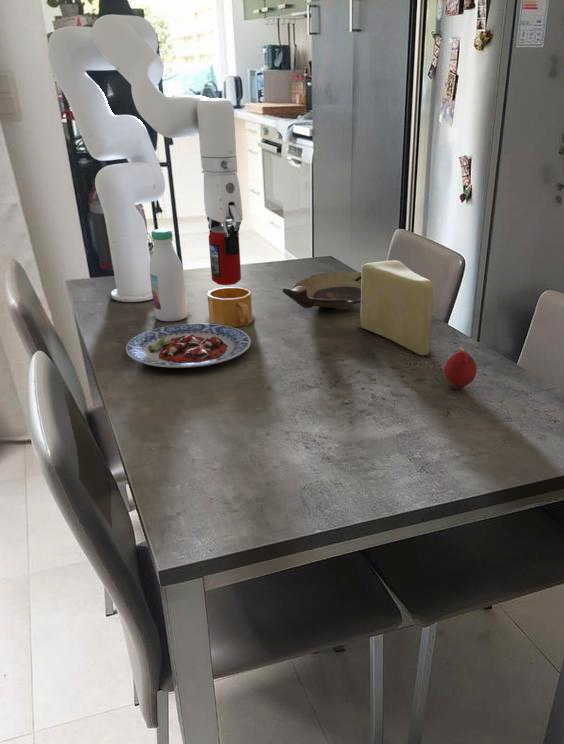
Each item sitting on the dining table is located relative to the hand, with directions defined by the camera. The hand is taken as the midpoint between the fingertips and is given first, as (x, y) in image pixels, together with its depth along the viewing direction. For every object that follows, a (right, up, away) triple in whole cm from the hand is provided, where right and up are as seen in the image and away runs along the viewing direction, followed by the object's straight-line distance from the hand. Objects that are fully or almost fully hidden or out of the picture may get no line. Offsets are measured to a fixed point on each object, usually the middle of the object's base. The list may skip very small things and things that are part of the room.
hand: (224, 250), depth 157 cm
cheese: (+40, -21, -4) cm, 45 cm away
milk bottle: (-14, -13, +10) cm, 22 cm away
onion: (+48, -35, -26) cm, 65 cm away
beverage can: (0, -6, +4) cm, 7 cm away
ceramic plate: (-6, -25, -10) cm, 28 cm away
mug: (+1, -15, +7) cm, 16 cm away
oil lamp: (+23, -8, +19) cm, 31 cm away
